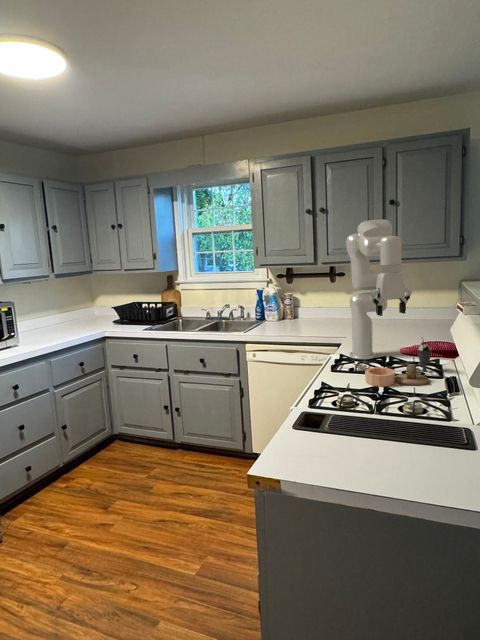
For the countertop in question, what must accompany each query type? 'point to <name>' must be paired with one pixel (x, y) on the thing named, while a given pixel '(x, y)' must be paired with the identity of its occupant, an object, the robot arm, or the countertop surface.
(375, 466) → the countertop surface
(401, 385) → the mat
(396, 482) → the countertop surface
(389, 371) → the bowl
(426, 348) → the sundae
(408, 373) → the lid
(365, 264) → the robot arm
